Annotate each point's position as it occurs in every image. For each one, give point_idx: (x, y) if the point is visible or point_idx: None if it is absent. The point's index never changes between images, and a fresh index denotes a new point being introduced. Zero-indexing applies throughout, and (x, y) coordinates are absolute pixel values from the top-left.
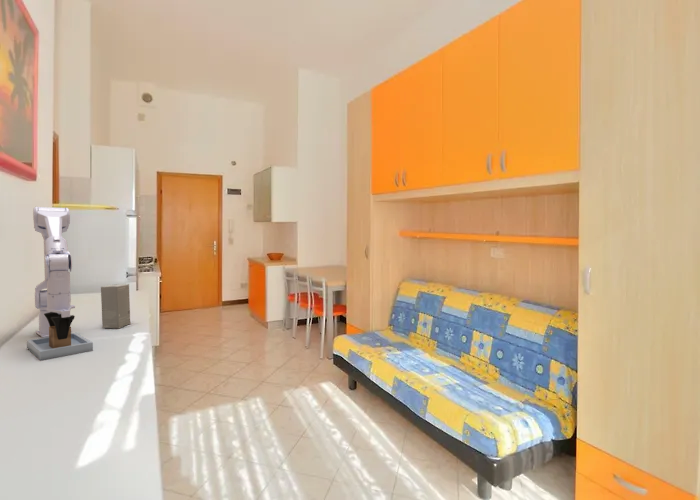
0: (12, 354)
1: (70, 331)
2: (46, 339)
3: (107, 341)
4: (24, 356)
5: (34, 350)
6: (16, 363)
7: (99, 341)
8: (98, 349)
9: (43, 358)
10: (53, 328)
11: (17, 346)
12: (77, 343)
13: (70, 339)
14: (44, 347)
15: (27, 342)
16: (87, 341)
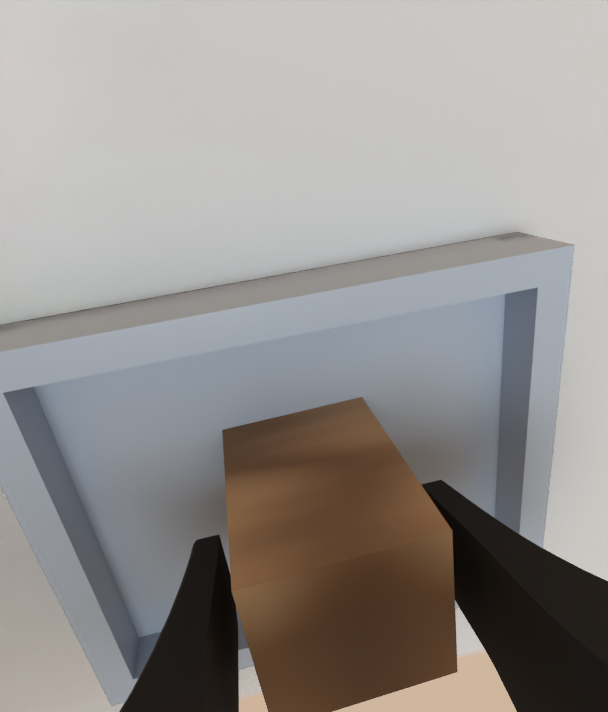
0: (245, 673)
1: (422, 491)
2: (102, 590)
3: (252, 9)
4: None
5: None
6: (463, 623)
7: (195, 102)
8: (518, 180)
9: None
10: (412, 677)
11: (16, 693)
12: (299, 345)
13: (385, 435)
14: None
15: None
16: (499, 286)
